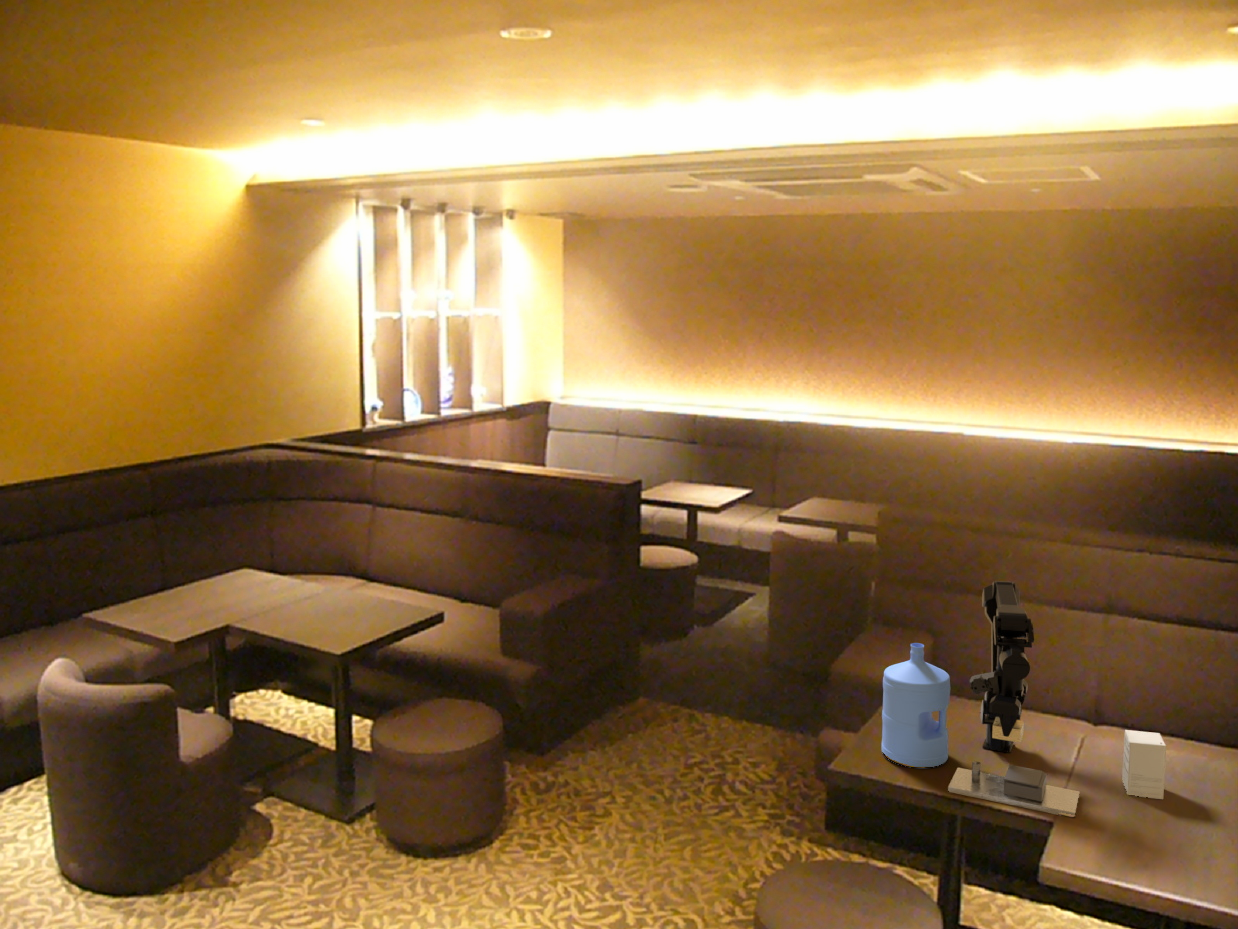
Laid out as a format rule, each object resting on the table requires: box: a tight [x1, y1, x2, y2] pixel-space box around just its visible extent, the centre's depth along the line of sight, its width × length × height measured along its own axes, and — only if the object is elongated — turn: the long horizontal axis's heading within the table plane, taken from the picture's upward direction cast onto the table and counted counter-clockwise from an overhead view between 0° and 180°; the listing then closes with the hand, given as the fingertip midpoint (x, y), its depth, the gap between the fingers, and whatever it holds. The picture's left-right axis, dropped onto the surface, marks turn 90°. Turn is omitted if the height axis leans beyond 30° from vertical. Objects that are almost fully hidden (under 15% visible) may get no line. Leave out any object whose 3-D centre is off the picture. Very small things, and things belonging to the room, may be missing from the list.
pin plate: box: [947, 760, 1081, 816], centre depth 219 cm, size 11×26×6 cm, turn 61°
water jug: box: [881, 642, 951, 768], centre depth 238 cm, size 16×16×28 cm
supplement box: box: [1121, 729, 1167, 800], centre depth 219 cm, size 7×7×13 cm
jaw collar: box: [992, 716, 1025, 743], centre depth 226 cm, size 6×6×3 cm
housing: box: [1004, 764, 1048, 802], centre depth 218 cm, size 8×8×4 cm
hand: (1007, 731), depth 226 cm, fingers closed on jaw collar, 6 cm apart
